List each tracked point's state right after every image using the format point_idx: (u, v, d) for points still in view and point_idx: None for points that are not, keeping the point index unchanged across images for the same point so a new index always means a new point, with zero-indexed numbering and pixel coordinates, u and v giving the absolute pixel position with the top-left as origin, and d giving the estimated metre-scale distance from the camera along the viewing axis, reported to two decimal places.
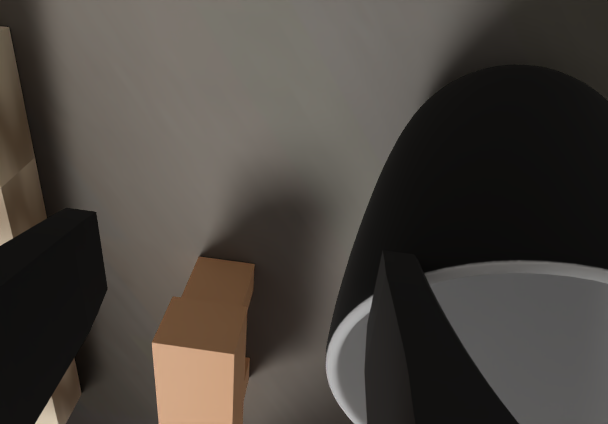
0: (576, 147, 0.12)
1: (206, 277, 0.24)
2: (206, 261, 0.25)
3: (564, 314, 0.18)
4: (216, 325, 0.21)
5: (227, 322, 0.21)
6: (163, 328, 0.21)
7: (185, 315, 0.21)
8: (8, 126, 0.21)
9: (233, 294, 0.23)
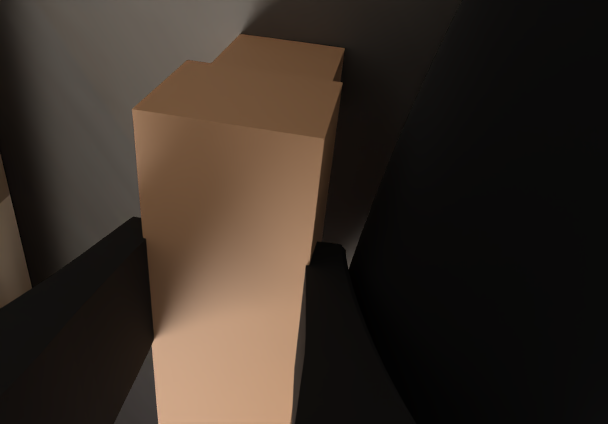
0: (478, 350, 0.08)
1: (255, 54, 0.12)
2: (254, 39, 0.13)
3: None
4: (279, 98, 0.10)
5: (303, 97, 0.10)
6: (160, 92, 0.09)
7: (212, 82, 0.10)
8: None
9: (309, 74, 0.11)
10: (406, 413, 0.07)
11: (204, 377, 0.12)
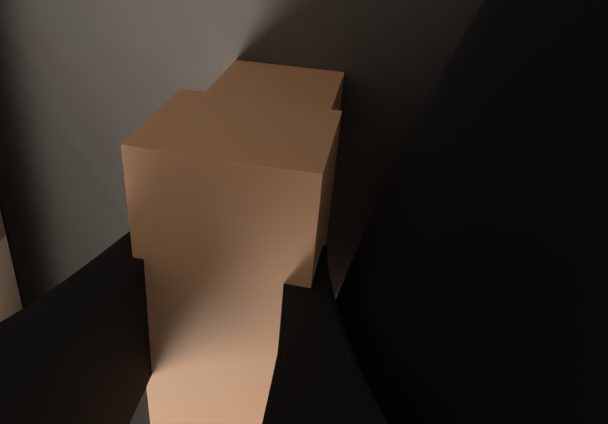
0: (446, 387, 0.07)
1: (251, 80, 0.12)
2: (251, 64, 0.13)
3: None
4: (275, 130, 0.09)
5: (300, 127, 0.09)
6: (152, 125, 0.09)
7: (205, 113, 0.09)
8: None
9: (308, 101, 0.11)
10: (376, 409, 0.07)
11: (201, 418, 0.11)
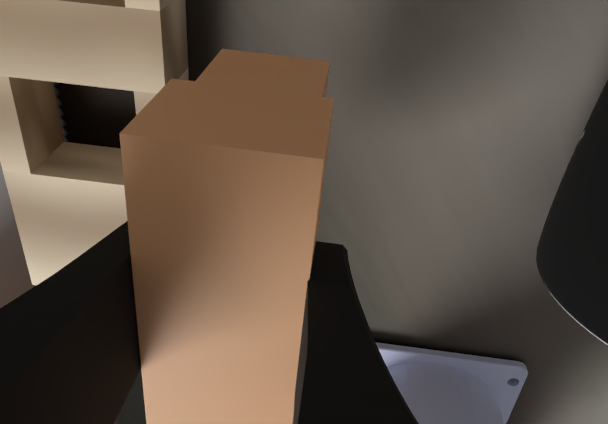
0: None
1: (239, 70, 0.12)
2: (237, 54, 0.13)
3: None
4: (272, 117, 0.09)
5: (296, 114, 0.09)
6: (147, 114, 0.09)
7: (200, 101, 0.09)
8: None
9: (297, 90, 0.11)
10: (409, 413, 0.07)
11: (198, 408, 0.11)
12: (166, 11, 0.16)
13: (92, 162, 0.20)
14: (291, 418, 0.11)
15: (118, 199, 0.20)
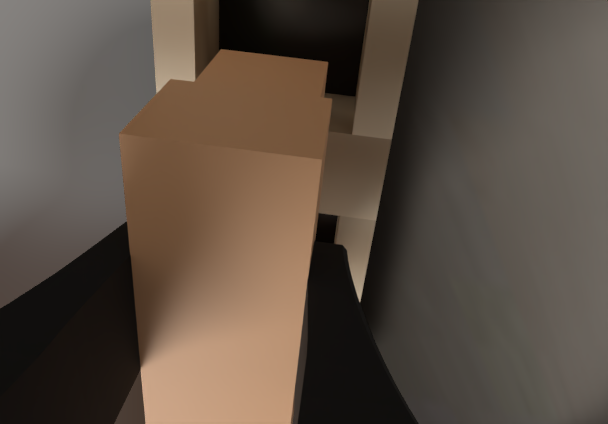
0: None
1: (238, 70, 0.12)
2: (236, 54, 0.13)
3: None
4: (270, 118, 0.09)
5: (294, 115, 0.09)
6: (146, 115, 0.09)
7: (199, 102, 0.10)
8: None
9: (296, 90, 0.11)
10: (409, 413, 0.07)
11: (197, 407, 0.11)
12: None
13: None
14: (289, 417, 0.11)
15: None
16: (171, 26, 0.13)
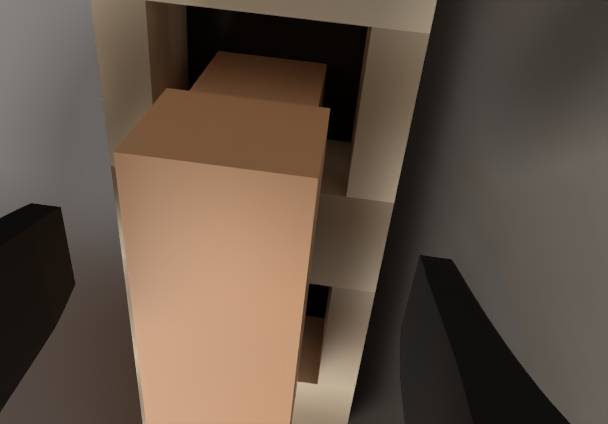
0: None
1: (235, 74, 0.12)
2: (233, 56, 0.13)
3: None
4: (267, 131, 0.09)
5: (291, 128, 0.09)
6: (142, 130, 0.09)
7: (195, 114, 0.09)
8: None
9: (294, 97, 0.11)
10: None
11: (197, 412, 0.11)
12: None
13: None
14: (288, 422, 0.11)
15: None
16: (122, 69, 0.11)
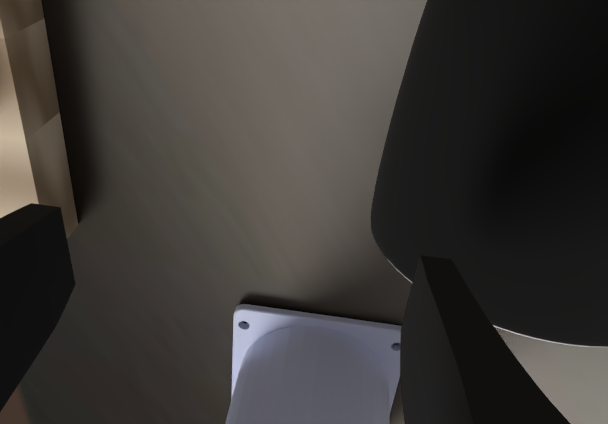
0: (550, 181, 0.11)
1: None
2: None
3: None
4: None
5: None
6: None
7: None
8: None
9: None
10: None
11: None
12: None
13: None
14: None
15: None
16: None
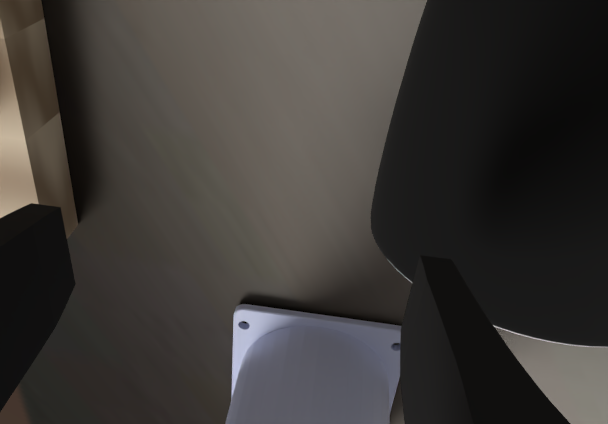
0: (550, 181, 0.11)
1: None
2: None
3: None
4: None
5: None
6: None
7: None
8: None
9: None
10: None
11: None
12: None
13: None
14: None
15: None
16: None
